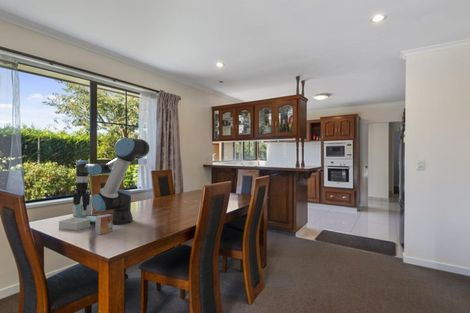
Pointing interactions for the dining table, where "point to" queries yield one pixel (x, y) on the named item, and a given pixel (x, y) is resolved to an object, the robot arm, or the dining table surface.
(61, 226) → the tub
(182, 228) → the dining table surface
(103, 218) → the small box
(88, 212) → the supplement box
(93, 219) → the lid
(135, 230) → the dining table surface
